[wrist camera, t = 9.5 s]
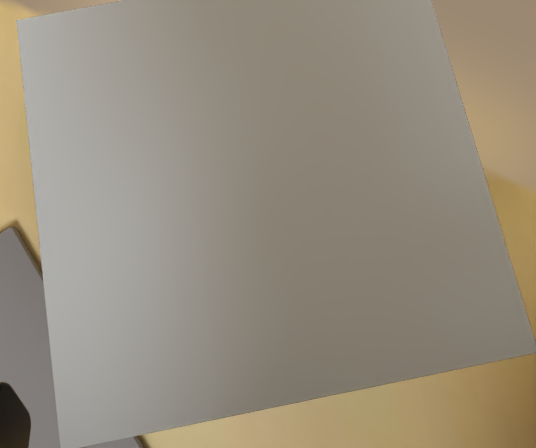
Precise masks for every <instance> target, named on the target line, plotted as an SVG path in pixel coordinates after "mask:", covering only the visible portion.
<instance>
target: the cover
mask: <svg viewBox="0 0 536 448" xmlns="http://www.w3.org/2000/svg"><path fill="white" fill-rule="evenodd" d="M17 30H18V40H19V49H20V59H21V69H22V79H23V88H24V98H25V108H26V118H27V127H28V137H29V147H30V157H31V166H32V176H33V186H34V196H35V205H36V215H37V225H38V234H39V244H40V254H41V264H42V273H43V283H44V293H45V303H46V312H47V322H48V332H49V342H50V351H51V361H52V371H53V381H54V390H55V400H56V410H57V420H58V429H59V439H60V448H80V447H85V446H90V445H95V444H100V443H104V442H109V441H114V440H119V439H124V438H129V437H133V436H138V435H143V434H148V433H153V432H158V431H162V430H167V429H172V428H177V427H182V426H187V425H191V424H196V423H201V422H206V421H211V420H216V419H220V418H225V417H230V416H235V415H240V414H245V413H249V412H254V411H259V410H264V409H269V408H274V407H278V406H283V405H288V404H293V403H298V402H303V401H307V400H312V399H317V398H322V397H327V396H331V395H336V394H341V393H346V392H351V391H356V390H360V389H365V388H370V387H375V386H380V385H385V384H389V383H394V382H399V381H404V380H409V379H414V378H418V377H423V376H428V375H433V374H438V373H443V372H447V371H452V370H457V369H462V368H467V367H472V366H476V365H481V364H486V363H491V362H496V361H501V360H505V359H510V358H515V357H520V356H525V355H530V354H534V353H536V342H535V339H534V335H533V332H532V329H531V325H530V322H529V319H528V316H527V312H526V309H525V306H524V302H523V299H522V296H521V293H520V289H519V286H518V283H517V279H516V276H515V273H514V270H513V266H512V263H511V260H510V256H509V253H508V250H507V247H506V243H505V240H504V237H503V233H502V230H501V227H500V224H499V220H498V217H497V214H496V211H495V207H494V204H493V201H492V197H491V194H490V191H489V188H488V184H487V181H486V178H485V174H484V171H483V168H482V165H481V162H480V158H479V155H478V151H477V148H476V145H475V142H474V138H473V135H472V132H471V129H470V125H469V122H468V119H467V116H466V112H465V109H464V105H463V102H462V99H461V96H460V92H459V89H458V86H457V82H456V79H455V76H454V73H453V69H452V66H451V63H450V59H449V56H448V53H447V50H446V46H445V43H444V40H443V36H442V33H441V30H440V27H439V24H438V20H437V17H436V14H435V11H434V7H433V4H432V0H122V1H117V2H111V3H107V4H101V5H96V6H90V7H85V8H80V9H74V10H69V11H63V12H59V13H53V14H47V15H42V16H37V17H31V18H26V19H21V20H17Z"/></svg>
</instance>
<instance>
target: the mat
mask: <svg viewBox="0 0 536 448" xmlns="http://www.w3.org/2000/svg"><path fill="white" fill-rule="evenodd" d="M0 382H6V383H8V384H10V385H11V386H12V388H13V389H14V391H15V392H16V394H17V395H18V397H19V398H20V400H21V401H22V403H23V404H24V405H25V407H26V408H27V410H28V412H29V414H30V417H31V433H30V441H29V448H60V439H59V429H58V420H57V410H56V400H55V390H54V381H53V371H52V361H51V351H50V342H49V332H48V322H47V312H46V303H45V293H44V283H43V274H42V272H41V270H40V269H39V267H38V265H37V263H36V262H35V260H34V258H33V257H32V255H31V253H30V251H29V250H28V248H27V246H26V245H25V243H24V241H23V239H22V238H21V236H20V234H19V233H18V231H17V229H16V228H13V227H9V228H8V229H6V230H5V231H3V232H2V233H0ZM80 448H144V447H143V445H142V443H141V442H140V440H139V438H138V437H137V436H133V437H129V438H124V439H119V440H114V441H109V442H104V443H100V444H95V445H90V446H85V447H80Z"/></svg>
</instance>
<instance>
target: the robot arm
mask: <svg viewBox="0 0 536 448" xmlns="http://www.w3.org/2000/svg"><path fill="white" fill-rule="evenodd" d="M30 433H31V417H30V414H29V412H28V410H27V408H26V407H25V405H24V404H23V403H22V401H21V400H20V398H19V397H18V395H17V394H16V392H15V391H14V389H13V388H12V386H11V385H10V384H8V383H6V382H0V448H29V441H30Z"/></svg>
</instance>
